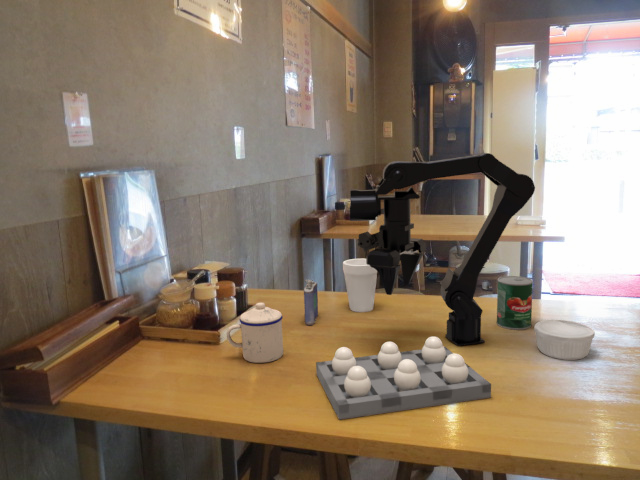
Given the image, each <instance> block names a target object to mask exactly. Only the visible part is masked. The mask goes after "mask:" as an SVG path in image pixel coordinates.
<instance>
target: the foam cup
mask: <svg viewBox="0 0 640 480" xmlns="http://www.w3.org/2000/svg"><path fill="white" fill-rule="evenodd" d="M342 272H343V274H344V280H345V286H346V287H345V288H346V293H347V299H348V306H349V309H350V311H352V312H356V313H367V312H371V311H372V310H374V306H375V297H376V285H377V276H378V275H377V274H378V273H379V272H378V271H377V270H376V269H374V268H372V267H370V265H367V264H366V258H364V257H363V258H360V257H359V258H352V259H351V258H350V259H346V260H344V261H343V262H342Z"/></svg>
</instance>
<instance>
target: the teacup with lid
mask: <svg viewBox="0 0 640 480" xmlns="http://www.w3.org/2000/svg"><path fill="white" fill-rule="evenodd" d="M282 319H283V315H282V313H281V311H279V310H278V309H274V308H271V307H268V306H266V304H265V302H256V304H255V307H253V308H251V309H249V310H248V311H245V312H243V313H241V315H240V318H239V323H240V324H233V325H230V326H229V328H228V329H227V331H226V339H227V341H228V343H229V344H230V345H231V346H232V347H235V348H242V356H243V358H244V360H245V361H248V362H249V363H254V364H266V363H270V362H273V361H276V360H279V359H281V357H283V355H284V344H283V343H284V342H283V324H282ZM237 329H240V330H241V342H236V341H234V340H233V339H232V337H231V332H232V331H233V330H237Z"/></svg>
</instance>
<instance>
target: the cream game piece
mask: <svg viewBox="0 0 640 480" xmlns="http://www.w3.org/2000/svg"><path fill="white" fill-rule="evenodd" d="M420 380H421V377H420V373H419V371H418V370H417V365H416V364H415V362H414V361H412V360H410V359H404V360H402V361H401V362H400V363H399V365H398V368H397V369H396V371H395V373H394V381H395V384H396V385H397V387H398V388H399V392H402V391H409V390H415V389H416V388H417V387H418V385H419V384H420Z"/></svg>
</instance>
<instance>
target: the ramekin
mask: <svg viewBox="0 0 640 480" xmlns="http://www.w3.org/2000/svg"><path fill="white" fill-rule="evenodd" d="M533 327H534V329H533V330H534V333H535V339H536V345H537V347H538V350H539V351H540V352H541V353H542V354H544V355H545V356H548V357H550V358H554V359H558V360H564V361H565V360H566V361H576V360H581V359H584V358H585V357H587V356H588V355H589V354H590V350H591V346H592V342H593V339H594V338H595V330H594V329H593V328H592V327H590V326H588V325H587V324H583V323H581V322H577V321H573V320H566V319H545V320H541V321H538V322H536V323H535V324H534V326H533Z"/></svg>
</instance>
